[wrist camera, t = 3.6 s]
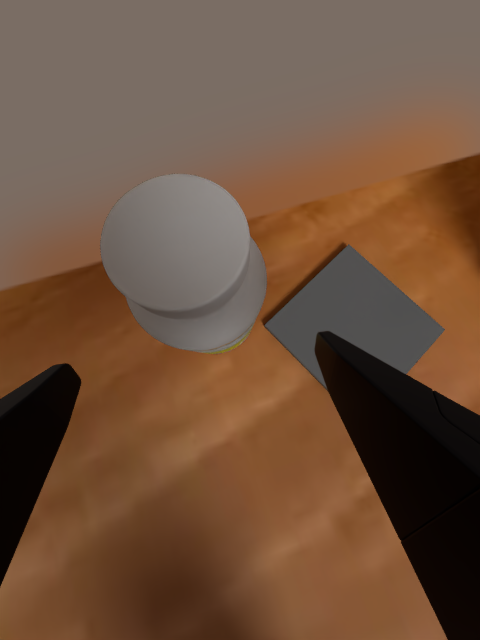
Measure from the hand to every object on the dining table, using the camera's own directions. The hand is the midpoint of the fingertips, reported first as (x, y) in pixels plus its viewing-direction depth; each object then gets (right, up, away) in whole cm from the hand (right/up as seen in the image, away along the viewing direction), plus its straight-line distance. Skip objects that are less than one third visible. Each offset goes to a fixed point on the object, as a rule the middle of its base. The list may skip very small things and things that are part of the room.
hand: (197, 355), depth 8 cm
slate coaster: (+11, +1, +11) cm, 16 cm away
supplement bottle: (-1, +2, +11) cm, 12 cm away
